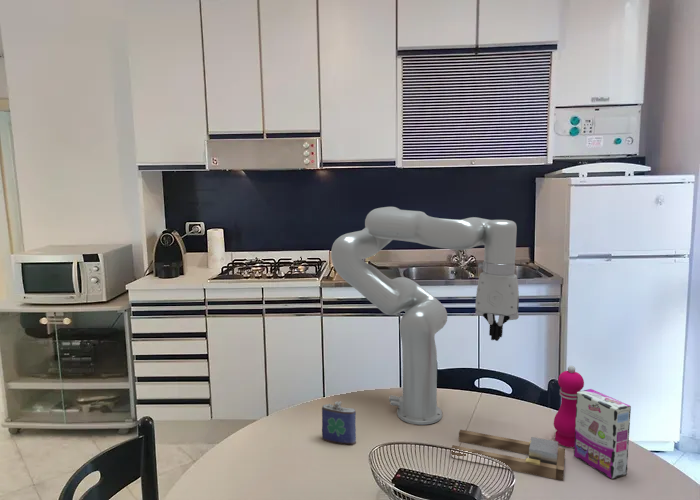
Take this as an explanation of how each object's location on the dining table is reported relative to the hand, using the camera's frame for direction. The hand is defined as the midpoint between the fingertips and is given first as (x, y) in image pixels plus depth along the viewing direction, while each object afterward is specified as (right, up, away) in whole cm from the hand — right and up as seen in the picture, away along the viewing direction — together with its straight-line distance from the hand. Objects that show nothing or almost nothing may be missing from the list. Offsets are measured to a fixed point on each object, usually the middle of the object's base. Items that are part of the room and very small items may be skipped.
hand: (495, 338), depth 135 cm
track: (0, -27, -9) cm, 29 cm away
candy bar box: (+21, -27, -13) cm, 37 cm away
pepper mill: (+18, -26, -2) cm, 31 cm away
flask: (-40, -27, 0) cm, 48 cm away
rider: (+8, -27, -12) cm, 31 cm away
